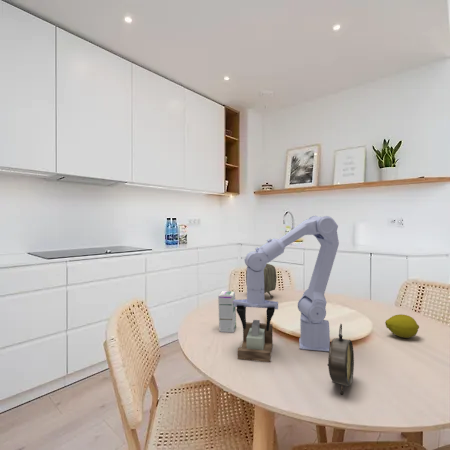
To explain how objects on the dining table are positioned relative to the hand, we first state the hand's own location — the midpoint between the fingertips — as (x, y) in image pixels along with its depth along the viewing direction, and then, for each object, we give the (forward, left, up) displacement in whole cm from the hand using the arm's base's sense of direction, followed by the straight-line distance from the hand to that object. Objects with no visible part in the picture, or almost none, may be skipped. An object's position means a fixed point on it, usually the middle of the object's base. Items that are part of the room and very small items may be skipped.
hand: (256, 328), depth 96 cm
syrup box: (+13, -15, -7) cm, 21 cm away
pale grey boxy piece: (0, 0, -6) cm, 6 cm away
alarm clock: (-24, +15, -7) cm, 29 cm away
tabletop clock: (+5, -60, -7) cm, 60 cm away
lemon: (-50, -20, -7) cm, 54 cm away
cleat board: (0, +1, -7) cm, 7 cm away
